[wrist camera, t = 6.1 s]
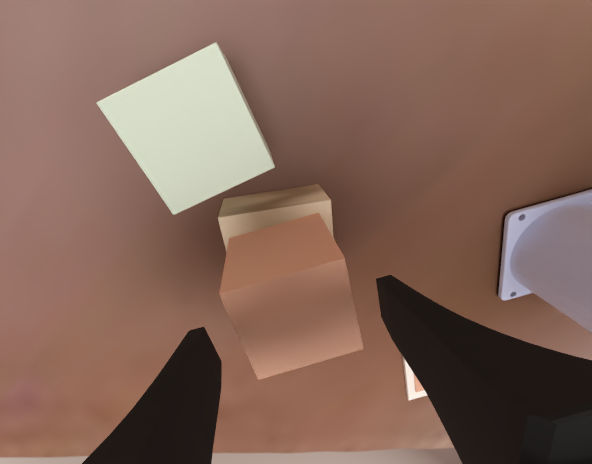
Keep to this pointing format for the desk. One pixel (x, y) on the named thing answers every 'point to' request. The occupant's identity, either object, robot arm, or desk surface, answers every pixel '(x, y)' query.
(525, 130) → the desk surface
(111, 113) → the sage cube
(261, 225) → the maple base
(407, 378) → the tile
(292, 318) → the terracotta cube
